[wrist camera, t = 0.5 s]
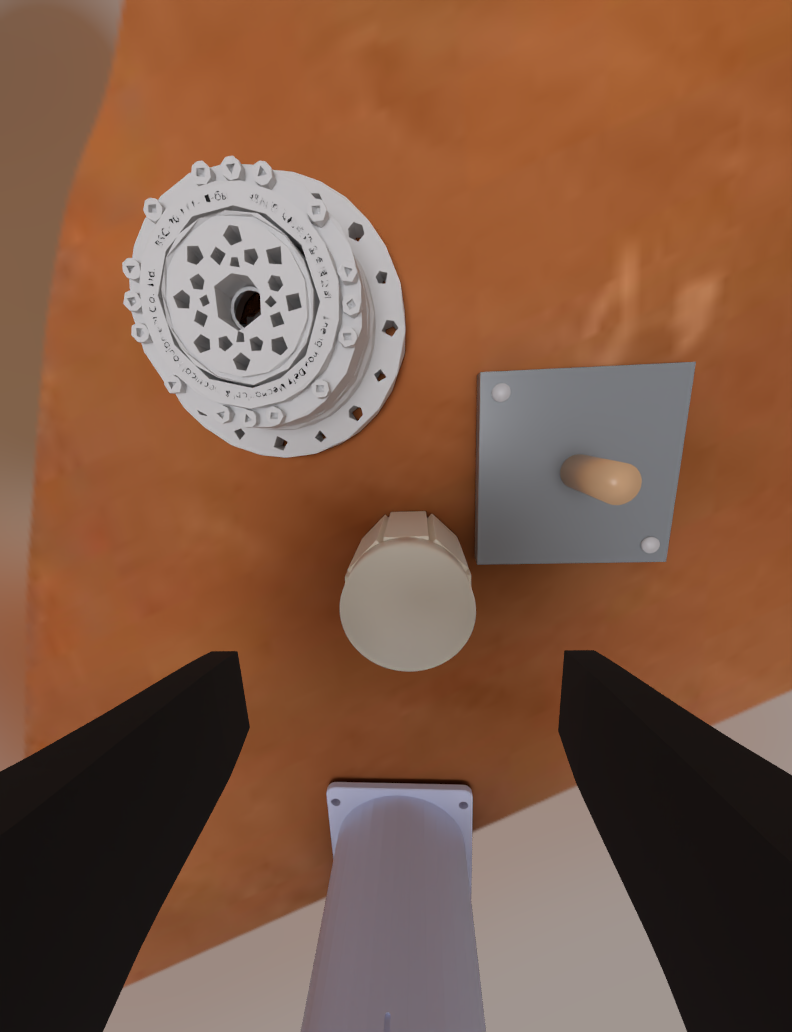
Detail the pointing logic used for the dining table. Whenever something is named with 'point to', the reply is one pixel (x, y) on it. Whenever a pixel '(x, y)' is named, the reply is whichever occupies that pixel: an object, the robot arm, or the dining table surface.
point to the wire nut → (408, 594)
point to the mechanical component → (266, 307)
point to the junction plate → (579, 463)
